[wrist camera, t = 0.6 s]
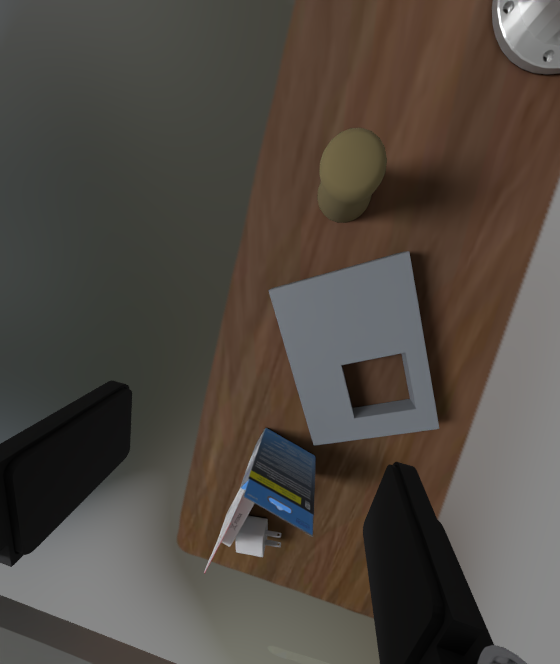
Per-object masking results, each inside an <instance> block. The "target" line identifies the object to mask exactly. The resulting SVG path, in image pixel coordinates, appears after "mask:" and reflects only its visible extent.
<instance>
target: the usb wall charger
mask: <svg viewBox="0 0 560 664" xmlns="http://www.w3.org/2000/svg"><path fill="white" fill-rule="evenodd" d="M277 534H280V536H277ZM267 536H272V537H281V533H279V532H274V531H268V519H266V518H260V517H254V516H247V518H246V519H245V521H244V523H243V525H242V526H241V528H240V530H239V532H238V534H237V535H236V552H238V553H243V554H249V555H254V556H259V557H263V555H264V550H265V545H269V546H275V547H281V542H277V541H272V540H267ZM277 543H279V544H280V545H279V546H278V545H277Z"/></svg>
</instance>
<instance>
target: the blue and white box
mask: <svg viewBox="0 0 560 664" xmlns="http://www.w3.org/2000/svg"><path fill="white" fill-rule="evenodd" d="M315 465H316V457H315V455H313V454H311V453H309V452H307V451H306V450H304V449H302V448H301V447H299V446H297V445H295V444H294V443H292V442H290V441H288V440H287V439H285V438H283V437H281V436H280V435H278V434H276V433H274V432H273V431H271V430H269V429H267V428H265V430H264V431H263V433H262V435H261V436H260V438H259V440H258V442H257V444H256V446H255V448H254V451H253V453H252V456H251V459H250V462H249V464H248V467H247V470H246V473H245V476H244V478H243V481H242V484H241V488H242V489H243V490H245V493H244V498H246V499H248V500H250V501H252V502H254V503H255V504H257V505H259V506H260V507H262V508H264V509H266V510H267V511H269V512H271V513H272V514H274V515H276V516H277V517H279V518H281V519H283V520H285V521H286V522H288V523H290V524H291V525H293V526H295V527H297V528H299V529H300V530H302V531H304V532H305V533H307V534H309V535H310V536H313V516H314V491H315ZM280 510H281V511H280Z"/></svg>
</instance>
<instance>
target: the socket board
mask: <svg viewBox="0 0 560 664" xmlns="http://www.w3.org/2000/svg"><path fill="white" fill-rule="evenodd" d="M269 293H270V297H271V300H272V304H273V307H274V311H275V314H276V317H277V321H278V324H279V328H280V331H281V335H282V338H283V342H284V345H285V348H286V352H287V355H288V359H289V362H290V366H291V369H292V373H293V376H294V379H295V383H296V386H297V390H298V393H299V397H300V400H301V403H302V407H303V410H304V414H305V417H306V421H307V424H308V428H309V431H310V434H311V438H312V441H313V445H322V444H329V443H336V442H344V441H351V440H359V439H366V438H374V437H381V436H388V435H396V434H403V433H411V432H418V431H426V430H433V429H439V424H438V418H437V412H436V406H435V400H434V394H433V389H432V383H431V377H430V371H429V365H428V359H427V353H426V347H425V341H424V335H423V330H422V324H421V318H420V312H419V306H418V300H417V294H416V288H415V282H414V276H413V271H412V265H411V259H410V253H409V252H401V253H397V254H394V255H390V256H386V257H383V258H379V259H376V260H372V261H369V262H365V263H361V264H358V265H354V266H351V267H347V268H343V269H340V270H336V271H333V272H329V273H325V274H322V275H318V276H315V277H311V278H307V279H304V280H300V281H297V282H293V283H289V284H286V285H282V286H279V287H275V288H272V289H270V290H269ZM400 353H401V354H402V359H403V364H404V369H405V375H406V380H407V385H408V390H409V395H410V399H406V400H400V401H394V402H387V403H381V404H375V405H369V406H363V407H356V408H352V405H351V401H350V397H349V392H348V388H347V384H346V380H345V376H344V372H343V368H342V365H345V364H350V363H355V362H360V361H365V360H370V359H375V358H380V357H385V356H390V355H395V354H400Z"/></svg>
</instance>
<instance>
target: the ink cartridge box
mask: <svg viewBox="0 0 560 664" xmlns="http://www.w3.org/2000/svg"><path fill="white" fill-rule="evenodd" d="M244 493H245V490H243V489H242V488H240V490H239V492H238V494H237V495H236V497H235V499H234V501H233V503H232V505H231V507H230V509H229V510H228V512H227V515H226V518H225V521H224V524H223V527H222V529H221V532H220V535H219V538H218V541H217V543H216V545H215V548H214V550H213V552H212V554H211V557H210V559H209V562H208V564H207V566H206V569H205V571H204V573H205V572H206V570H207V568H208V566H209V564H210V563H211V561H212V559H213V557H214V555H215V553H216V551H217V549H218V547H219V545H220V543H221V542H222V543H224V544H226V545H228V546H229V547H230V546H231V544H232V542H233V541H234V539H235V537H236V535H237V534H238V532H239V530H240V528H241V526H242V525H243V523H244V521H245V519H246V518H247V516H248V514H249V512H250V511H251V509H252V507H253V505H254V502H252V501H250V500H248V499H246V498H244Z"/></svg>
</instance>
